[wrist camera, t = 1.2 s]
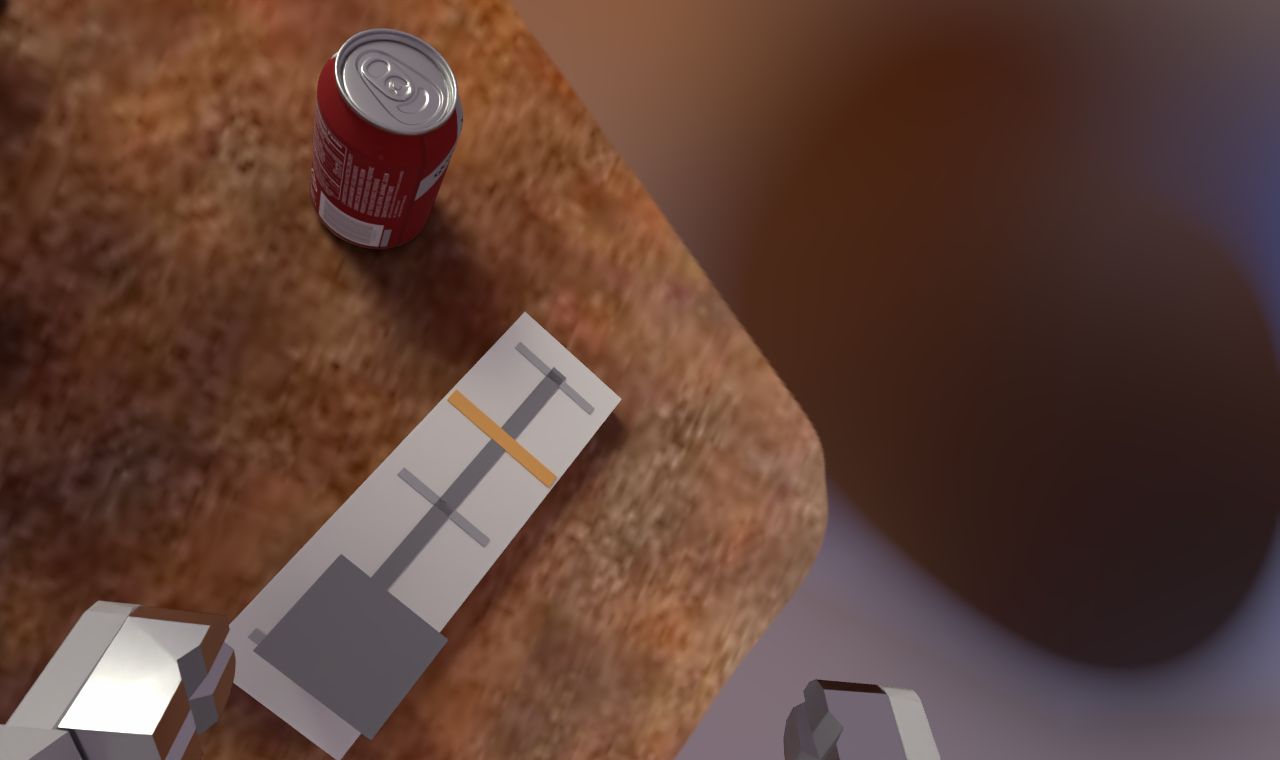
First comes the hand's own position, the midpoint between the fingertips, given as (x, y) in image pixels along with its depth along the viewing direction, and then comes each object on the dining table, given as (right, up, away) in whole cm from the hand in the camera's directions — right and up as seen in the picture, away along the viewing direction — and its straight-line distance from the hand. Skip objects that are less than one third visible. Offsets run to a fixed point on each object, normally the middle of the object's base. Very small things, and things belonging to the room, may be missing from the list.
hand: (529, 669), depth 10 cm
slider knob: (-13, -8, +25) cm, 29 cm away
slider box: (-10, -3, +31) cm, 33 cm away
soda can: (-15, +15, +34) cm, 40 cm away
